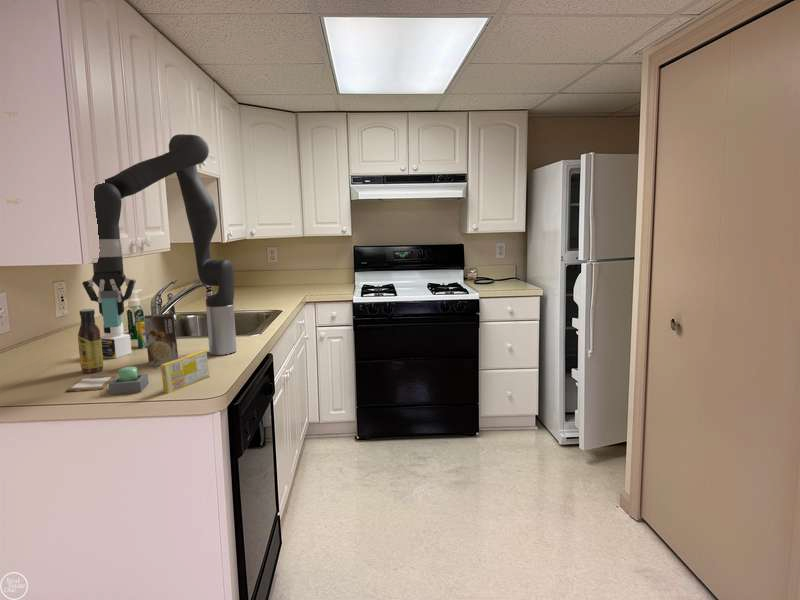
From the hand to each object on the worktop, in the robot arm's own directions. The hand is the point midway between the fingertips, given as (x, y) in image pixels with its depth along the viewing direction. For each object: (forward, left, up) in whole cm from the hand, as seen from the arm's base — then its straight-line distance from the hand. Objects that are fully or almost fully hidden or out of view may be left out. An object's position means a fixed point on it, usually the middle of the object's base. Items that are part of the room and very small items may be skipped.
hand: (112, 314), depth 151 cm
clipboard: (+1, -7, -20) cm, 21 cm away
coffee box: (-20, +8, -20) cm, 30 cm away
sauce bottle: (-15, -12, -20) cm, 28 cm away
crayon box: (-47, -3, -20) cm, 52 cm away
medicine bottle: (-35, -11, -20) cm, 42 cm away
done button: (+8, +5, -18) cm, 21 cm away
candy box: (+7, +20, -21) cm, 30 cm away
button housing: (+8, +5, -20) cm, 22 cm away
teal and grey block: (+1, 0, -3) cm, 3 cm away
